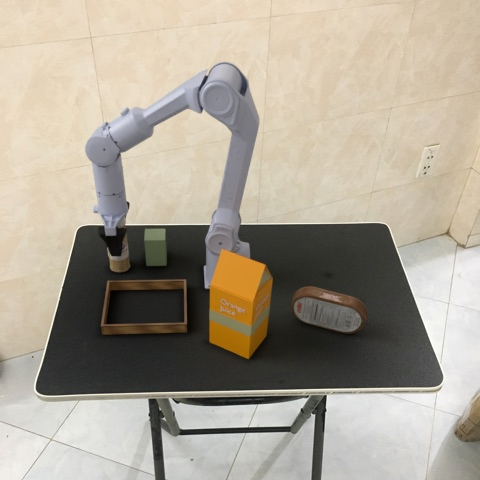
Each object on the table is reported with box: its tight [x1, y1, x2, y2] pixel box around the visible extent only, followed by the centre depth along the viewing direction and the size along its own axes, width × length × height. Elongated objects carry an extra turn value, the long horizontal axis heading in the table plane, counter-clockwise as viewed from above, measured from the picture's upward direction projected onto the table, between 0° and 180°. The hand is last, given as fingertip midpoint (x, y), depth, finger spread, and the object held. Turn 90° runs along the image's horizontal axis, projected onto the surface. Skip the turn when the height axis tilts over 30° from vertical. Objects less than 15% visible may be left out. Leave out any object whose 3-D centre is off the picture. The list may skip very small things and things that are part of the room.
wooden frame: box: [100, 278, 188, 336], centre depth 112 cm, size 16×14×2 cm
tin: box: [290, 286, 369, 335], centre depth 109 cm, size 15×3×8 cm, turn 71°
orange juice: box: [208, 249, 274, 360], centre depth 101 cm, size 8×9×20 cm
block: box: [143, 228, 168, 267], centre depth 123 cm, size 4×4×7 cm
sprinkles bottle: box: [102, 217, 131, 274], centre depth 118 cm, size 5×5×14 cm
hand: (117, 244), depth 119 cm, fingers open, 7 cm apart
